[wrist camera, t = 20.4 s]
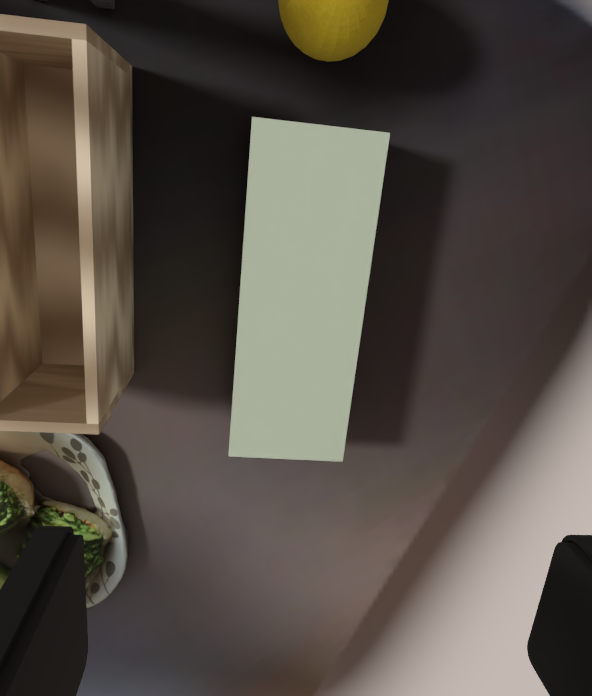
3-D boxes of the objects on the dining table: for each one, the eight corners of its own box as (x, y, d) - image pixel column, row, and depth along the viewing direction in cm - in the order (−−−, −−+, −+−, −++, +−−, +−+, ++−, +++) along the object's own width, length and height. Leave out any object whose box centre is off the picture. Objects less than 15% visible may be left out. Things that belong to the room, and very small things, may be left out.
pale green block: (331, 426, 39) (342, 461, 34) (231, 421, 38) (228, 456, 33) (369, 138, 33) (390, 133, 28) (251, 125, 32) (251, 116, 27)
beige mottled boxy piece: (134, 372, 36) (98, 434, 28) (37, 368, 35) (-30, 429, 27) (132, 66, 30) (85, 24, 22) (15, 53, 30) (-79, 4, 21)
